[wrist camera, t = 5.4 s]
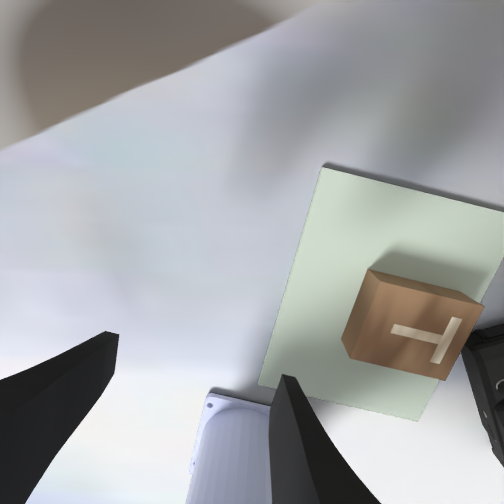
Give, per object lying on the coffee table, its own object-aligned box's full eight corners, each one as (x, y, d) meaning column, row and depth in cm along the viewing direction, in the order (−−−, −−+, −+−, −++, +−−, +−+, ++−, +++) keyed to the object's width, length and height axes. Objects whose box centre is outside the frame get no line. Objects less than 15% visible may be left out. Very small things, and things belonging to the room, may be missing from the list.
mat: (415, 417, 24) (417, 421, 24) (257, 381, 24) (257, 385, 24) (519, 216, 19) (524, 217, 19) (321, 167, 19) (322, 167, 19)
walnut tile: (340, 338, 22) (426, 359, 22) (349, 358, 20) (445, 380, 20) (367, 268, 20) (459, 291, 20) (380, 281, 18) (484, 306, 18)
